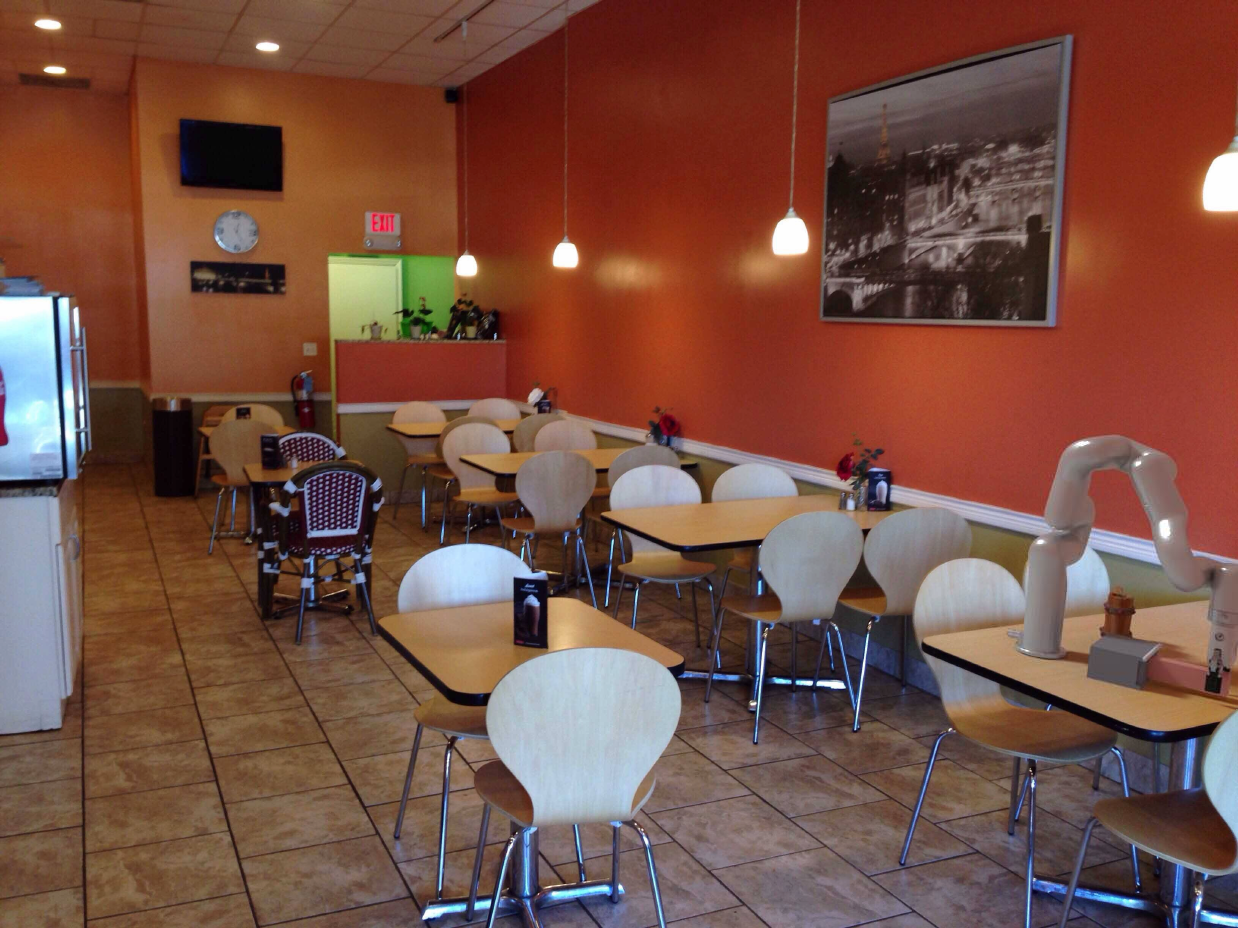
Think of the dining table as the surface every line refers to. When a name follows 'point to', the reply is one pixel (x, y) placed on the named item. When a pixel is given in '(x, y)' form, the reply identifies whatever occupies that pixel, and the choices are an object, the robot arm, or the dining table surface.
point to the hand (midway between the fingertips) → (1216, 686)
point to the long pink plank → (1183, 674)
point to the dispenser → (1121, 660)
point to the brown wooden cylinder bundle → (1118, 613)
